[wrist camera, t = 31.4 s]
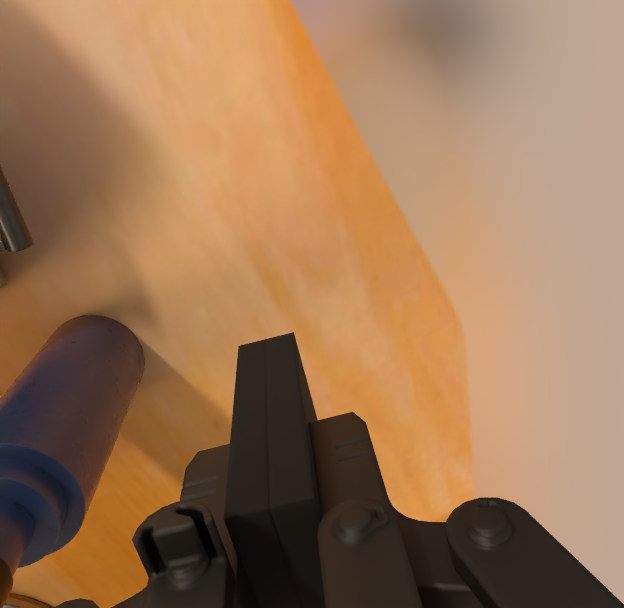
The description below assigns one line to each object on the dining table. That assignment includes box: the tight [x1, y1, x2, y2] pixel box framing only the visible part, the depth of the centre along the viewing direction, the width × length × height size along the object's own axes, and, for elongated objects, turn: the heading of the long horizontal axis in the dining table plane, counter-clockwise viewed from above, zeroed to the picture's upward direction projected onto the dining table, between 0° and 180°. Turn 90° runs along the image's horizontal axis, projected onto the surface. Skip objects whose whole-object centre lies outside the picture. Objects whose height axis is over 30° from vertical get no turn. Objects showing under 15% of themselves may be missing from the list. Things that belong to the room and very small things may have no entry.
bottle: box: [0, 315, 145, 608], centre depth 34 cm, size 7×7×22 cm
